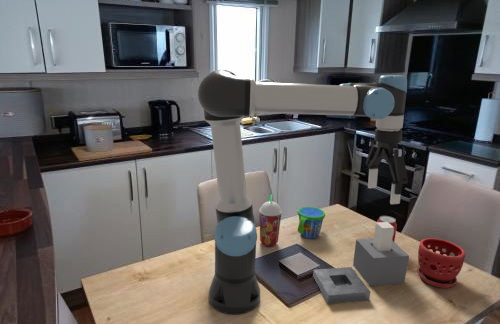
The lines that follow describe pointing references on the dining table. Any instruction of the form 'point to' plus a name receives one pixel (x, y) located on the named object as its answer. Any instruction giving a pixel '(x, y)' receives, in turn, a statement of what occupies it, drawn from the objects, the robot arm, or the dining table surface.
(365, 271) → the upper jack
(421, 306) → the dining table surface
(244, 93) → the robot arm
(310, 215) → the snack cup
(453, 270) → the plant pot
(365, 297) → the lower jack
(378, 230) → the plug
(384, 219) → the soda can
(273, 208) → the smoothie
